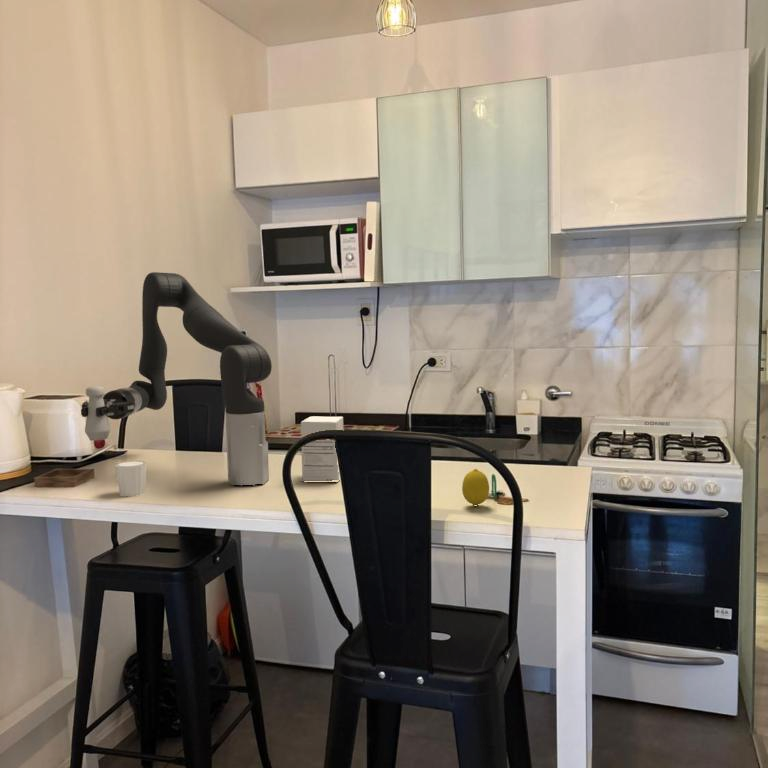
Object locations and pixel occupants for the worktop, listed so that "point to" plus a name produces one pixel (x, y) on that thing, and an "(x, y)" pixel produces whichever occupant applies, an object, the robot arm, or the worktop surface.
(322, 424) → the supplement box
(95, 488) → the worktop surface
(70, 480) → the wooden tray
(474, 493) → the lemon
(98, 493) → the worktop surface
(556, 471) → the worktop surface
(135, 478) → the shot glass
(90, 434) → the salt shaker
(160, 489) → the worktop surface
